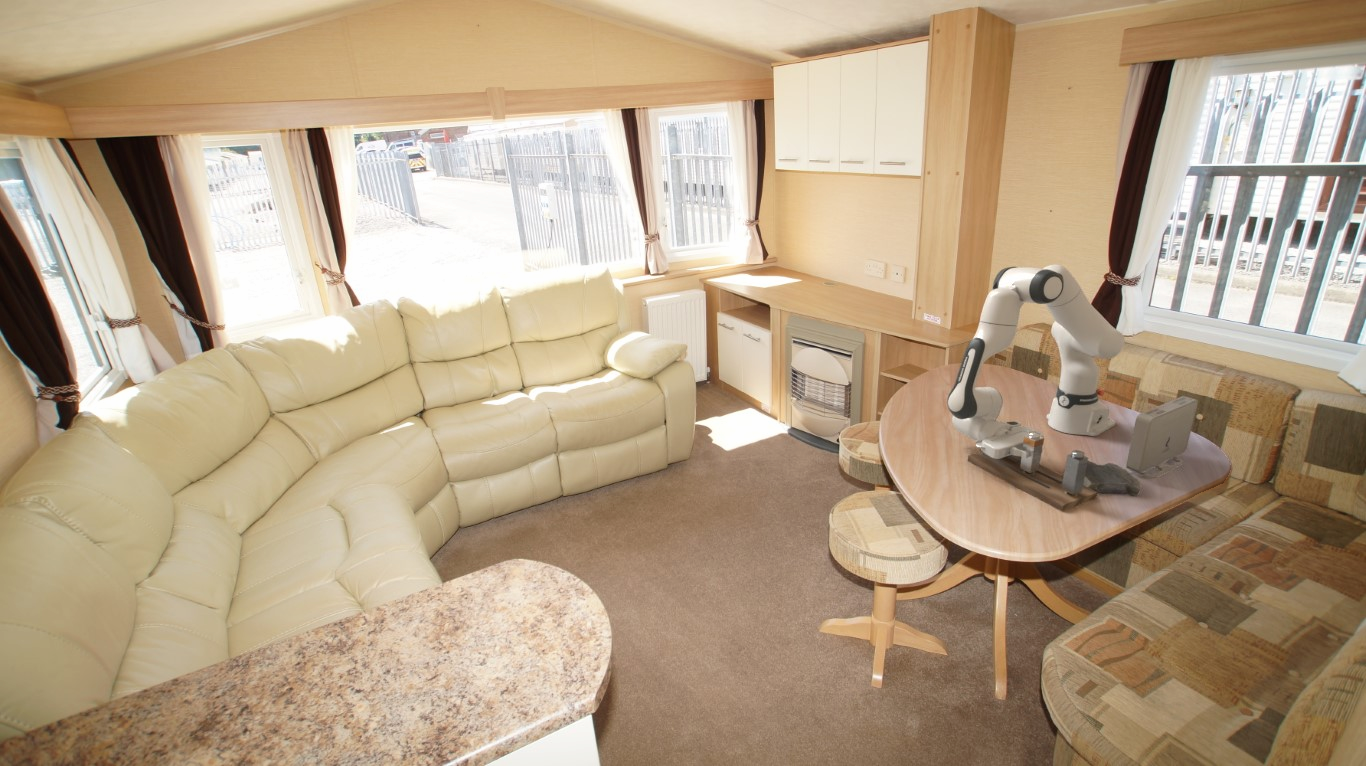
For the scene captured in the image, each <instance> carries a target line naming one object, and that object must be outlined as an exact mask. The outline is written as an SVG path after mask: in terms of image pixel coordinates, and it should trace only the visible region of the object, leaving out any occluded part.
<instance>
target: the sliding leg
mask: <svg viewBox="0 0 1366 766" xmlns="http://www.w3.org/2000/svg"><path fill="white" fill-rule="evenodd" d="M1036 431H1037V430H1036ZM1036 431H1030V432H1029V435H1026V436H1024V440H1023V451H1024V450H1026V451H1028V452H1029V453H1030V455H1029V457H1028V458H1023V457H1021V464H1020V468H1021V469H1023V470H1025V471H1027V472H1029V473H1032V472H1035V471H1038V470H1039V465H1041V457H1042V453H1043V451H1042V449H1043V445H1044V441H1045V437H1044V438H1043V437H1041V436H1040V433H1041V432H1040V431H1038V432H1036ZM1039 432H1040V433H1039ZM1041 452H1042V453H1041Z"/></svg>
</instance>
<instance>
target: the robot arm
mask: <svg viewBox="0 0 1366 766" xmlns="http://www.w3.org/2000/svg"><path fill="white" fill-rule="evenodd" d="M1025 303H1027V304H1028V303H1030V304H1037V305H1045V307H1046V308H1047V310H1048V311H1049V314H1050V316H1051V317H1052V318H1053V320H1054V322H1053V323H1052V326H1051V331H1050V332H1051V337H1052V338H1053V339H1054V340H1055V342H1056V345H1057V347H1058V352H1059V355H1060V363H1061V365H1060V366H1061V369H1060V378H1059V379H1060V380H1059V384H1058V386H1057V387H1056V392H1055V393H1056V394H1055V397H1054V398H1053V400H1052V404H1051V407H1050V411H1049V413H1047V414H1046V416H1045V417H1046V419H1047V424H1048V426H1049V427H1050V428H1052V429H1053V430H1056V431H1058V432H1061V433H1065V434H1069V435H1070V434H1071V435H1080V436H1081V435H1083V436H1090V437H1097V436H1099V435H1100V434H1102V433H1104V432H1106V431H1108V430H1109V429H1111V428H1112V427H1114V426H1115V425H1116V420H1114V419H1113V418H1111V417H1110V416H1109V415H1110V409H1109V407H1108V406H1107V405H1106V404H1104V403H1103V402H1102V401H1101V400H1099V396H1102V397H1103V396H1104V394H1105V390H1104V389H1100V388H1097V387H1098V384H1099V378H1100V377H1099V376H1100V368H1099V366H1098V364H1097V363H1096V361H1095V359H1094V358H1097V359H1102V360H1111V359H1114V358H1116V357H1117V356H1119V354H1120V353H1121V352H1122V351H1123V349H1124V347H1125V341H1126V339H1125V336H1124V334H1123V333H1122V332H1120V331H1119V330H1118V329H1116V328H1115V327H1113V325H1111V324H1110V323H1109V321H1107V319H1106V318H1104V316H1103V315H1102V314H1101V313H1100V312H1099V311H1098V310H1097V309H1096V308H1095V307H1094V306H1093V305H1092V303H1091V302H1090V300H1089V299H1088V297H1087V295H1086V293H1084V291H1083V289H1082V287H1081V285H1080V284H1079V282H1078V281H1077V279H1076V278H1075V277H1074V276H1073V274H1072V272H1070V271H1069V270H1068V269H1067V268H1066V267H1065V266H1064V265H1061V264H1055V263H1054V264H1050V265H1047V266H1045V267H1043V268H1039V267H1032V266H1027V267H1026V266H1025V267H1024V266H1023V267H1022V266H1019V267H1018V266H1009V267H1005V268H1003V269H1001V270H999V272H998V273H997V274H996V276H995V278H994V280H993V284H992V290H990V291H989V293H988V294H987V296H986V298H985V301H984V304H983V307H982V310H981V314H980V317H979V323H978V326H977V329H976V332H975V334H974V336H973V338H972V340H970V342H969V343H968V345H967V346H966V348H965V351H964V354H963V357H962V358H961V359H962V361H961V363H960V366H959V369H958V372H957V375H956V378H955V380H954V381H955V382H954V385H953V386H952V388H951V390H950V392H949V394H948V396H947V401H946V406H947V408H948V410H949V412H950V413H951V414H952V425H953V427H954V429H956V431H958V432H959V433H960V434H962V435H964V436H965V437H968V438H969V439H971V440H973V441H976V442H975V447H976V448H978V449H980V451H983V452H984V453H985V454H987V455H988V456H990V457H992V458H994V459H1000V458H1003V457H1006V456H1009V455H1014V456H1021V457H1023V458H1028V457H1029V455H1030V453H1029V452H1028V451H1026V450H1024V451H1023V440H1024V436H1026V435H1029V432H1030V431H1036V432H1039V433H1040V436H1041V437H1043V438H1044V439H1045V437H1044V434H1043V433H1042V432H1040V431H1038V430H1036V429H1035V428H1034V429H1033V428H1032V427H1030V426H1027V425H1022V422H1019V421H1015V420H1014V421H1002V420H1001V421H999V420H997V419H998V417H999V415H1000V413H1001V410H1002V408H1003V396H1002V395H1001V393H1000V391H999V390H998V389H997V388H995V387H993V386H982V387H981V386H979V387H978V386H977V387H976V385H977V382H978V379H979V376H980V372H981V369H982V366H983V364H984V363H985V362H986V361H987V360H988V359H990V357H993V356H994V355H996V354H998V353H1000V352H1003V351H1005V350H1006V349H1007V348H1010V346H1011V345H1012V344H1013V343H1014V340H1015V337H1016V336H1017V331H1018V326H1019V321H1020V312H1021V308H1022V306H1023V305H1024V304H1025ZM1043 450H1044V449H1043V448H1042V452H1041V454H1043Z"/></svg>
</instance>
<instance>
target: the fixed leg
mask: <svg viewBox="0 0 1366 766" xmlns="http://www.w3.org/2000/svg"><path fill="white" fill-rule="evenodd" d="M1065 460H1066V461H1065V464H1064V465H1065V466H1064V471H1063V476H1064V477H1063V482H1062V488H1061V489H1062V490H1064V491H1066V492H1068V493H1069V494H1072V495H1074V494H1077V493H1080V492H1082V488H1083V483H1084V477H1085V472H1086V467H1087V461H1089V457H1088V456H1085V452H1084V451H1082V450H1077V449H1076V450H1074V449H1073V450H1072V451H1071V453H1070V454H1067V455H1066V459H1065Z"/></svg>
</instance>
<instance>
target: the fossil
mask: <svg viewBox="0 0 1366 766" xmlns="http://www.w3.org/2000/svg"><path fill="white" fill-rule="evenodd" d="M1083 485H1084V486H1086V487H1088V488H1090V489H1092V490H1094V491H1096V492H1098V494H1097V495H1130V496H1132V497H1137V496H1138V495H1139V494H1140V491H1141V490H1142V485H1141V483H1140V480H1139V479H1137V478H1136V477H1135V476H1134V475H1132V474H1131V472H1130V473H1129V471H1128V470H1127V469H1126V468H1123V467H1122V466H1119V464H1116V463H1111V462H1109V463H1105V464H1097V463H1096V462H1093V461H1090V460H1088V461H1087V467H1086V472H1085V477H1084V483H1083Z"/></svg>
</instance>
